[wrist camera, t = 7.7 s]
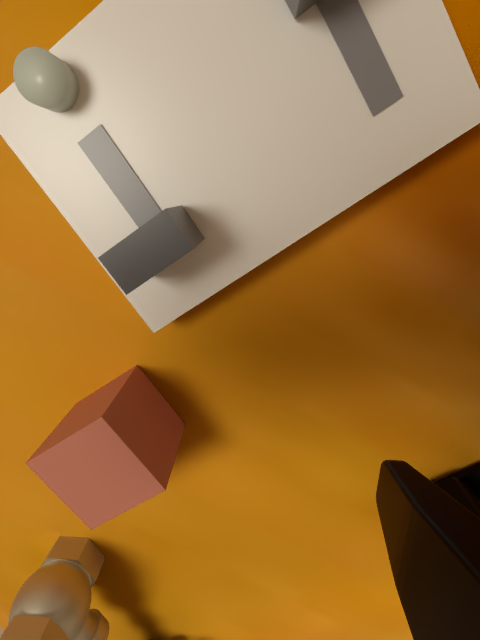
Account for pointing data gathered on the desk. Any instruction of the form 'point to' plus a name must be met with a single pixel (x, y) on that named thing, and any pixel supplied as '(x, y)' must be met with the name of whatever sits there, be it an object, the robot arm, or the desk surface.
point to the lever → (152, 248)
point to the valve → (60, 596)
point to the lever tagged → (299, 6)
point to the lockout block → (111, 449)
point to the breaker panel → (232, 122)
